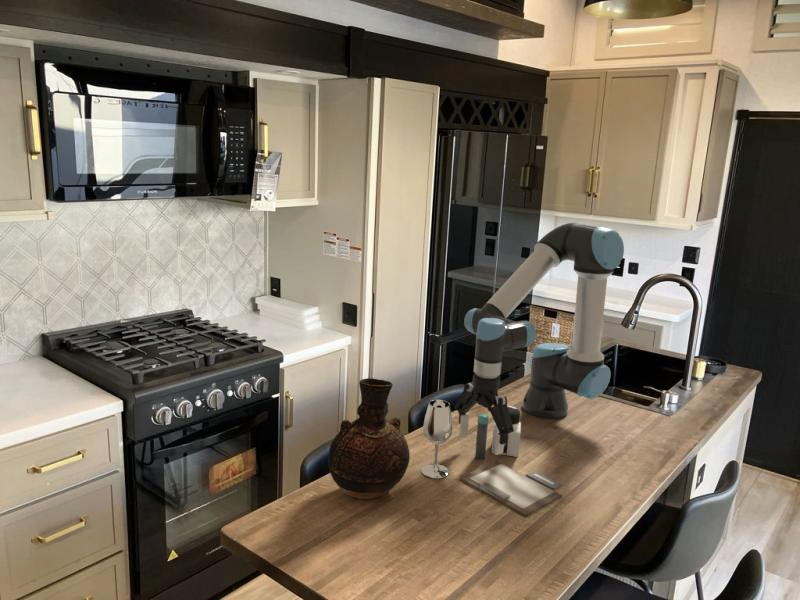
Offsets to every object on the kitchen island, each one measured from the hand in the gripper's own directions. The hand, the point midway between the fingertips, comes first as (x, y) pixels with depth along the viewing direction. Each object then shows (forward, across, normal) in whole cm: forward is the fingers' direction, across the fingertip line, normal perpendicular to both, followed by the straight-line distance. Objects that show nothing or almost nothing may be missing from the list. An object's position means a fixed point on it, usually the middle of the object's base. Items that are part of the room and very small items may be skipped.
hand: (480, 444), depth 184 cm
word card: (+4, +19, +5) cm, 20 cm away
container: (+4, +1, +10) cm, 11 cm away
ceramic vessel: (+5, -5, -37) cm, 37 cm away
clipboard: (+4, +16, -6) cm, 18 cm away
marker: (+4, 0, 0) cm, 4 cm away
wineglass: (+5, -2, -16) cm, 17 cm away
